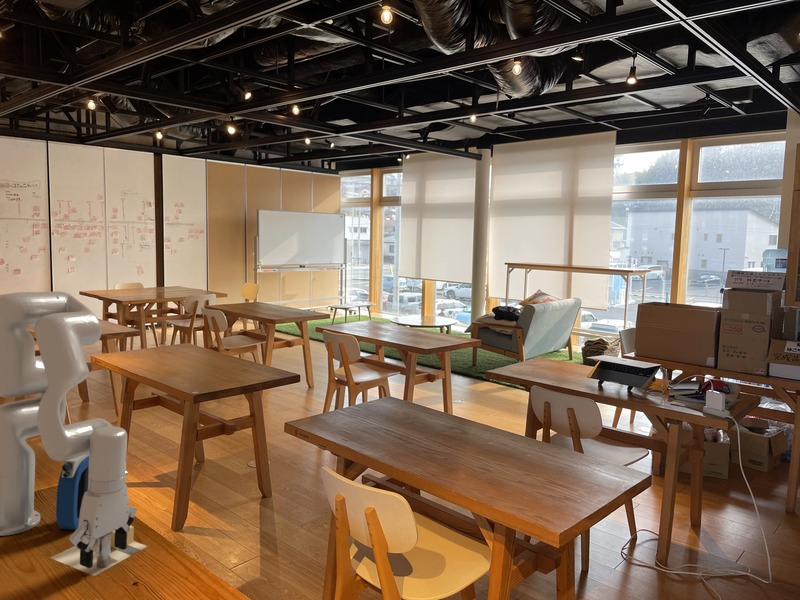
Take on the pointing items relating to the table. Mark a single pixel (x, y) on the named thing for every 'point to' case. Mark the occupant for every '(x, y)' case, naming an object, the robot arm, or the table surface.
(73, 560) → the white square mat
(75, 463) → the handheld scanner
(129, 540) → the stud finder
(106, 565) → the steel pin
